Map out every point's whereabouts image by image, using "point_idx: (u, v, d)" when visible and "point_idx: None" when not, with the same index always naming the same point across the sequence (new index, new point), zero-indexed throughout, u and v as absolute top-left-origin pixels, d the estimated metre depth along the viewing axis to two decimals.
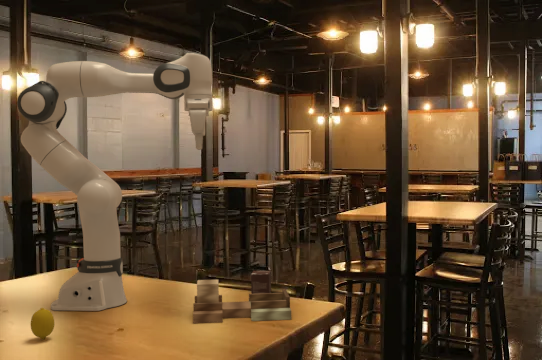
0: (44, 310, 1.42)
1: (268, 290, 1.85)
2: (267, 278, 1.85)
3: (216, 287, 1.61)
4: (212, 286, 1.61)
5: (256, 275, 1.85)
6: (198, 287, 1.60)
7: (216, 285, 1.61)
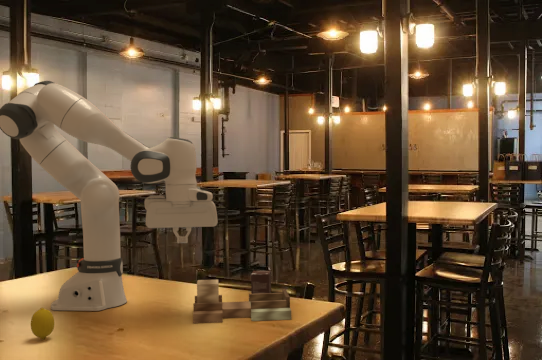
0: (44, 310, 1.42)
1: (268, 290, 1.85)
2: (267, 278, 1.85)
3: (216, 287, 1.61)
4: (212, 286, 1.61)
5: (256, 275, 1.85)
6: (198, 287, 1.60)
7: (216, 285, 1.61)
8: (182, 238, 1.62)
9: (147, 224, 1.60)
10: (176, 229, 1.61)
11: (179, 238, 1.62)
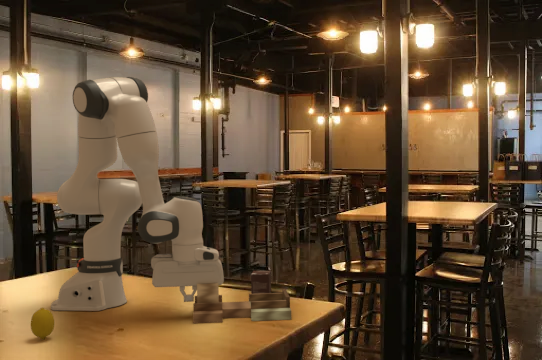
0: (44, 310, 1.42)
1: (268, 290, 1.85)
2: (267, 278, 1.85)
3: (216, 287, 1.61)
4: (212, 286, 1.61)
5: (256, 275, 1.85)
6: (198, 287, 1.60)
7: (216, 285, 1.61)
8: (189, 297, 1.62)
9: (154, 283, 1.60)
10: (183, 288, 1.62)
11: (186, 297, 1.62)
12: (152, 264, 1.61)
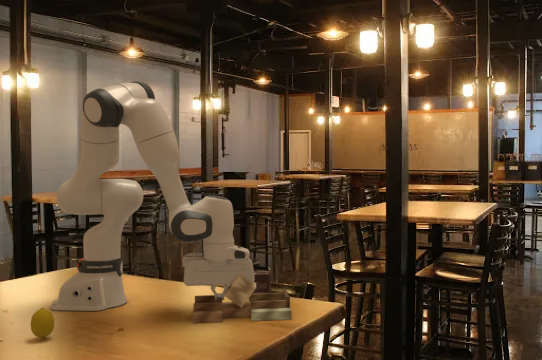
0: (44, 310, 1.42)
1: (268, 290, 1.85)
2: (267, 278, 1.85)
3: (252, 289, 1.61)
4: (249, 286, 1.61)
5: (256, 275, 1.85)
6: (238, 279, 1.61)
7: (253, 288, 1.61)
8: (220, 295, 1.63)
9: (185, 282, 1.61)
10: (214, 287, 1.62)
11: (217, 295, 1.63)
12: (183, 263, 1.62)
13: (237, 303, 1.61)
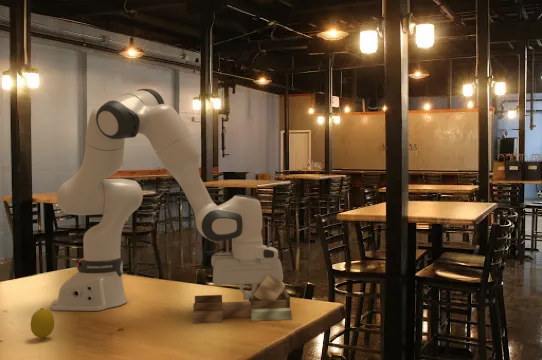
0: (44, 310, 1.42)
1: None
2: None
3: (281, 288, 1.62)
4: (279, 285, 1.62)
5: None
6: (267, 278, 1.62)
7: (282, 286, 1.62)
8: (248, 294, 1.64)
9: (214, 281, 1.62)
10: (242, 286, 1.63)
11: (245, 294, 1.63)
12: (212, 262, 1.63)
13: None
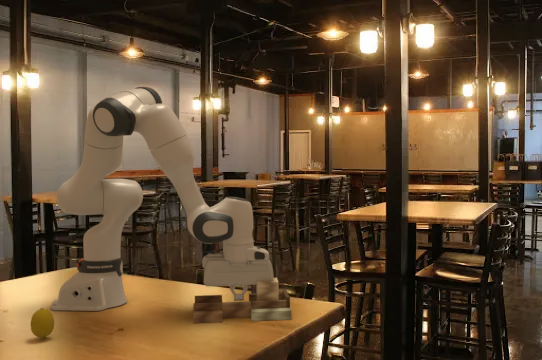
0: (44, 310, 1.42)
1: None
2: None
3: (276, 285, 1.62)
4: (272, 284, 1.62)
5: None
6: (258, 285, 1.62)
7: (276, 283, 1.62)
8: (239, 296, 1.64)
9: (205, 282, 1.62)
10: (233, 287, 1.64)
11: (236, 296, 1.64)
12: (203, 263, 1.63)
13: None
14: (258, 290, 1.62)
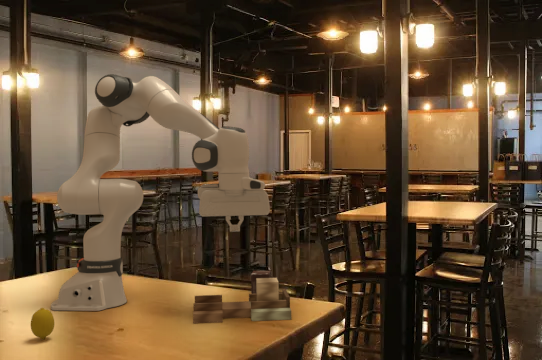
0: (44, 310, 1.42)
1: None
2: None
3: (276, 285, 1.62)
4: (272, 284, 1.62)
5: (256, 275, 1.85)
6: (258, 285, 1.62)
7: (276, 283, 1.62)
8: (235, 226, 1.63)
9: (201, 212, 1.61)
10: (229, 217, 1.62)
11: (232, 226, 1.63)
12: (199, 194, 1.62)
13: None
14: (258, 290, 1.62)
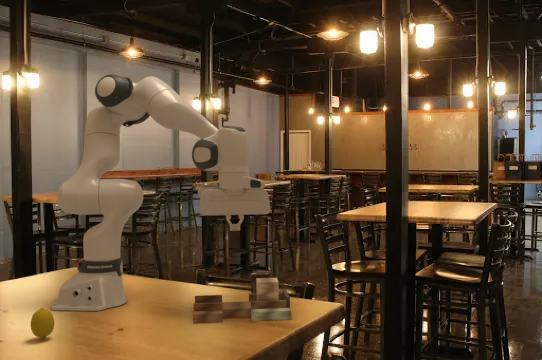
0: (44, 310, 1.42)
1: None
2: None
3: (276, 285, 1.62)
4: (272, 284, 1.62)
5: (256, 275, 1.85)
6: (258, 285, 1.62)
7: (276, 283, 1.62)
8: (235, 226, 1.63)
9: (201, 211, 1.61)
10: (229, 217, 1.62)
11: (232, 226, 1.63)
12: (199, 193, 1.62)
13: None
14: (258, 290, 1.62)
